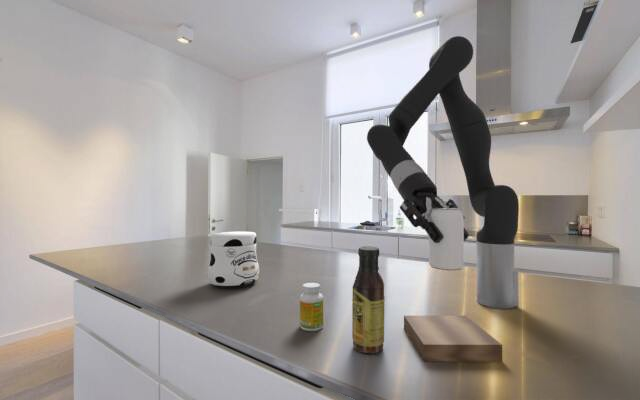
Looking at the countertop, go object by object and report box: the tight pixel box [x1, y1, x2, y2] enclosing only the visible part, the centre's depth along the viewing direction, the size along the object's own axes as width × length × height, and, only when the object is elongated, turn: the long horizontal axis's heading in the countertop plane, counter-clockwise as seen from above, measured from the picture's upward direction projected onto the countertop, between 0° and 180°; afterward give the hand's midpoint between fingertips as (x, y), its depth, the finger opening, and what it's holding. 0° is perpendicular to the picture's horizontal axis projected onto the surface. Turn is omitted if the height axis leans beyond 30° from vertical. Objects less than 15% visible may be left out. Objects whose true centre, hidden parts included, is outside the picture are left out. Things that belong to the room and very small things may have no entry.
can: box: [428, 207, 465, 271], centre depth 62 cm, size 6×6×12 cm
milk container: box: [207, 231, 260, 289], centre depth 107 cm, size 17×17×18 cm
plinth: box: [403, 315, 503, 363], centre depth 61 cm, size 14×14×3 cm
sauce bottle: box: [351, 245, 386, 354], centre depth 60 cm, size 7×6×20 cm
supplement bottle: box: [299, 282, 324, 332], centre depth 70 cm, size 5×5×10 cm
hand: (452, 239), depth 60 cm, fingers closed on can, 6 cm apart
